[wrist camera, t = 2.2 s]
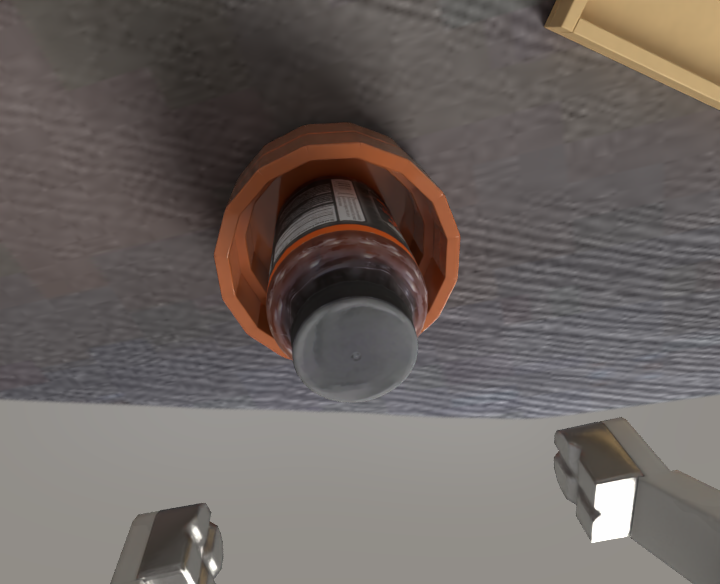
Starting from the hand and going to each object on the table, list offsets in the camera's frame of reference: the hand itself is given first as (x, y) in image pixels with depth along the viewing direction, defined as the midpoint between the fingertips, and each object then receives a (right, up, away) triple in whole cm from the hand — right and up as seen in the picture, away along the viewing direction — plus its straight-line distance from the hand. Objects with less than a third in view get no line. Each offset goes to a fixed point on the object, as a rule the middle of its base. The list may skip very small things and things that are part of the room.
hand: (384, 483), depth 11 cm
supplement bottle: (-2, +8, +14) cm, 16 cm away
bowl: (-2, +8, +14) cm, 16 cm away
